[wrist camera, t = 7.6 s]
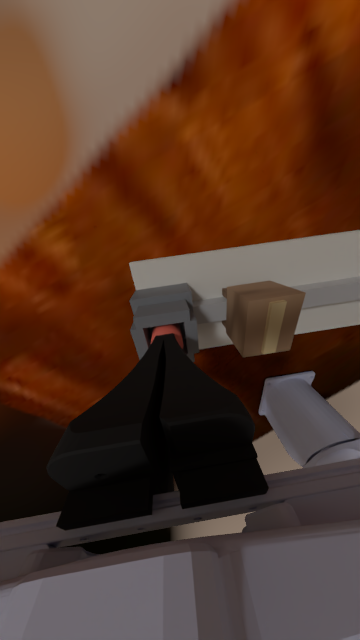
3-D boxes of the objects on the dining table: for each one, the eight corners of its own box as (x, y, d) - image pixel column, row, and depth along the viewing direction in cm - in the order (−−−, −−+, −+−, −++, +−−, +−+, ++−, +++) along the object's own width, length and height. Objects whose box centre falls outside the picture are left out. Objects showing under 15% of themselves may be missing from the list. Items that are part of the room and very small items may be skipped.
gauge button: (181, 338, 13) (184, 356, 11) (155, 342, 13) (154, 360, 11) (178, 315, 12) (181, 329, 10) (150, 319, 12) (147, 334, 10)
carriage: (255, 321, 17) (292, 352, 12) (221, 326, 17) (244, 360, 12) (261, 277, 15) (309, 293, 10) (222, 283, 15) (251, 302, 10)
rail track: (374, 317, 20) (454, 344, 14) (154, 351, 19) (150, 394, 14) (427, 220, 15) (583, 205, 9) (131, 262, 14) (109, 272, 9)
